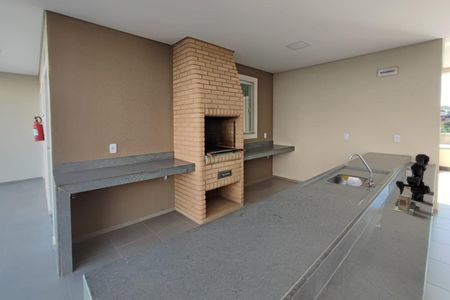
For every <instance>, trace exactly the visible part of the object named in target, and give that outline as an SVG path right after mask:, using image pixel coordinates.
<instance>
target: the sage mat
mask: <svg viewBox="0 0 450 300" xmlns="http://www.w3.org/2000/svg"><path fill="white" fill-rule="evenodd" d="M393 211H395V212H399V213H403V214H410V215H413V214H414V211H415V210H414V209H410V210H409V211H407V212H406V211H402V210H398V206H395V207H394V209H393Z"/></svg>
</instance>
